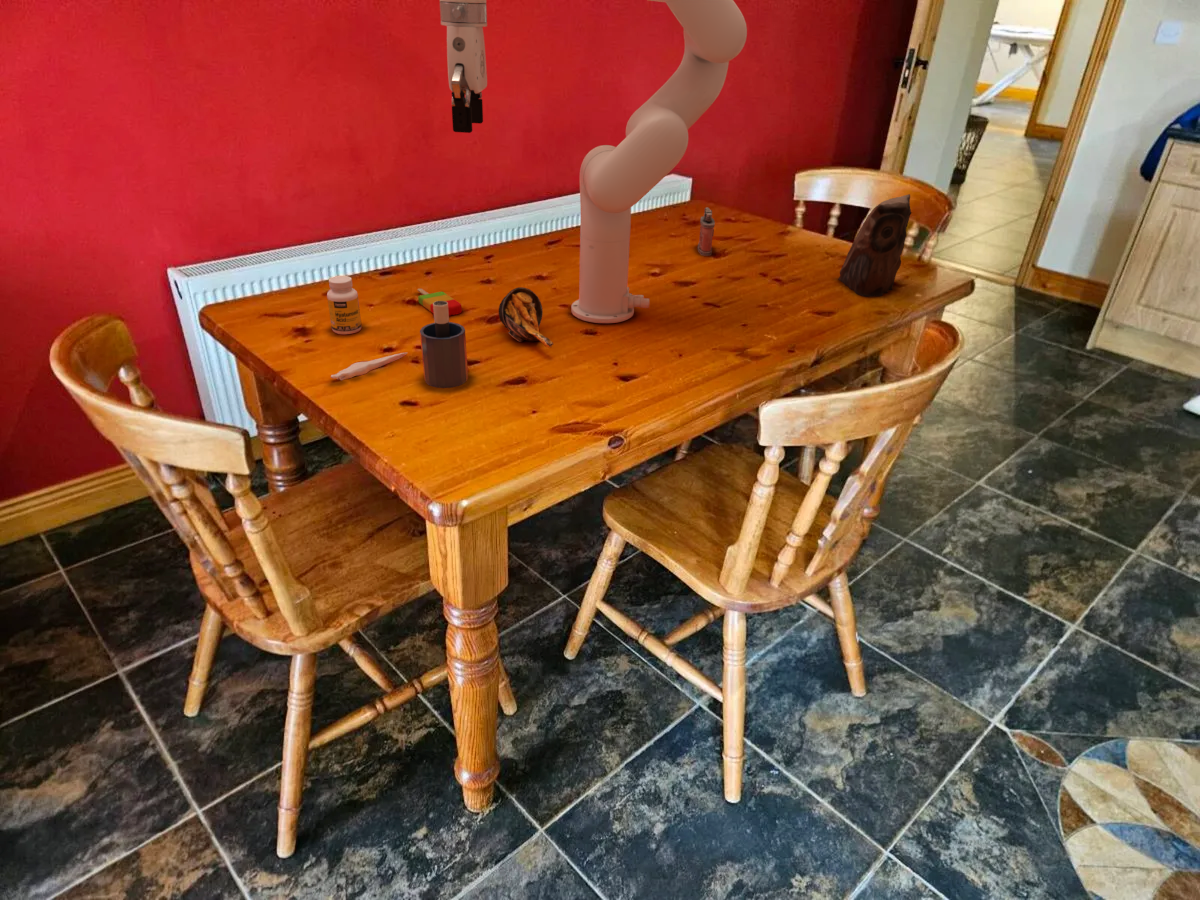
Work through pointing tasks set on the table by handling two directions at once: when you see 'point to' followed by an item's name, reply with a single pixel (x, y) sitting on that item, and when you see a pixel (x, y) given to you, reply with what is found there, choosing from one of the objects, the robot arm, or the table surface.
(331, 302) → the supplement bottle
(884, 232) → the owl
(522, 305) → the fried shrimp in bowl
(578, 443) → the table surface
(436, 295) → the popsicle
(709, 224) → the lighter
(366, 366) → the pale pink tapered rod
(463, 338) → the pen cup
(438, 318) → the marker pen
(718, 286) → the table surface
